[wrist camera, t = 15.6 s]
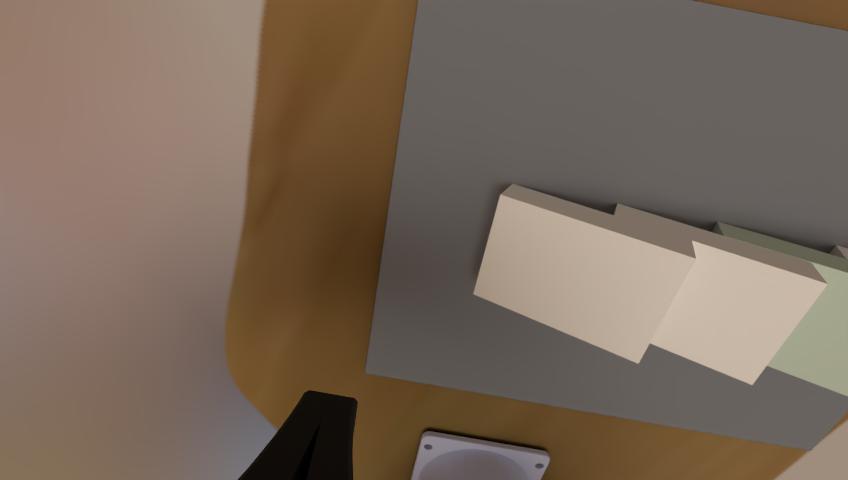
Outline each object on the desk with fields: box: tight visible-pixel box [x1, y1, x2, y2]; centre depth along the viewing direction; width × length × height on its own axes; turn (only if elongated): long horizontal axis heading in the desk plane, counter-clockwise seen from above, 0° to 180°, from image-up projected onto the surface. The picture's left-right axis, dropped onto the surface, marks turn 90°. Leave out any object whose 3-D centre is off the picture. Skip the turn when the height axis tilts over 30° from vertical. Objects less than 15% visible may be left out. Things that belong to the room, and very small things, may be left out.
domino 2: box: [613, 203, 828, 385], centre depth 17 cm, size 2×5×7 cm
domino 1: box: [473, 184, 696, 364], centre depth 17 cm, size 2×5×7 cm
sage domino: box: [712, 221, 848, 396], centre depth 17 cm, size 2×5×7 cm
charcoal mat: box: [365, 0, 848, 451], centre depth 19 cm, size 20×26×1 cm
